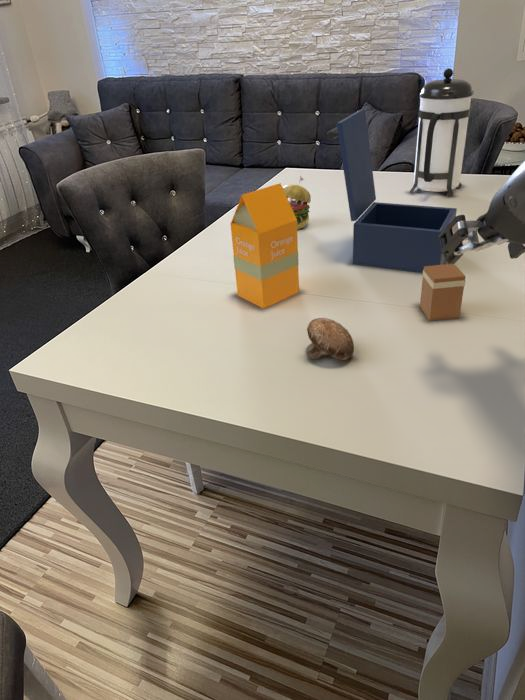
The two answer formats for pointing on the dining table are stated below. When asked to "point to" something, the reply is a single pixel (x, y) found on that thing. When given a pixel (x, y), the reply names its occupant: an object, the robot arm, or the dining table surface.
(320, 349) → the mushroom
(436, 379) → the dining table surface
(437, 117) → the coffee press
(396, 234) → the dark blue open box
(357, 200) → the navy box lid
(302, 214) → the hamburger
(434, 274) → the carton
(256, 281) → the orange juice
